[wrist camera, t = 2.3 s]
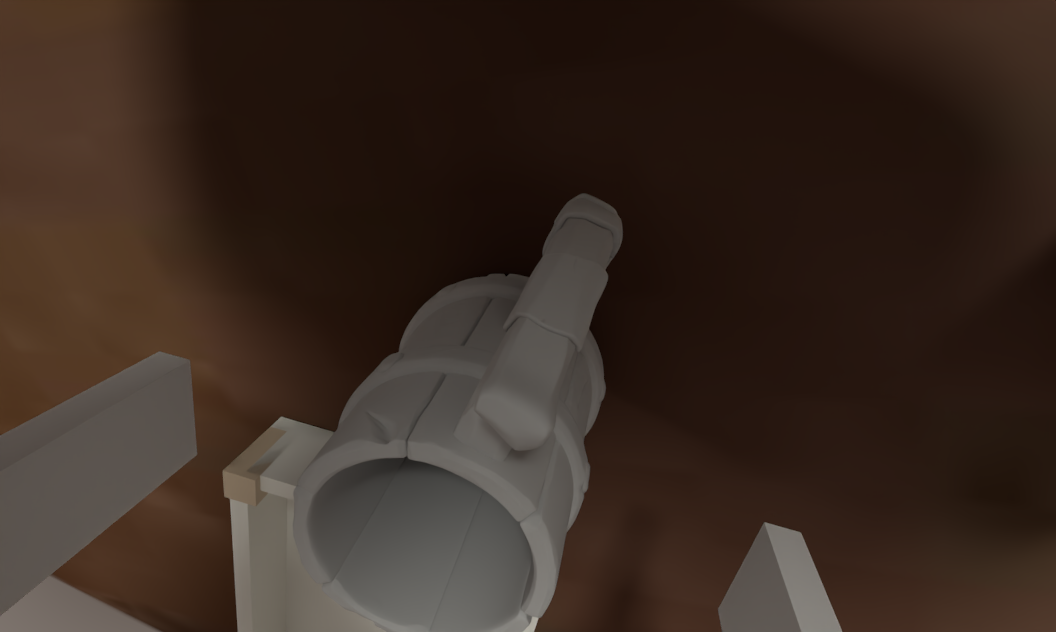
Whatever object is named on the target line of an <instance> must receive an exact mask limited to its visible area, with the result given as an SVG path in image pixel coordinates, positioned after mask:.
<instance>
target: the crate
mask: <svg viewBox="0 0 1056 632" xmlns="http://www.w3.org/2000/svg"><path fill="white" fill-rule="evenodd" d="M333 434H334V432H332V431H329V430H326V429H322V428H319V427H315V426H312V425H308V424H305V423H301V422H298V421H295V420H291V419H288V418H284V417H280V418H279V419H278V420H277V421H276V422H275V423H274V424H273V425H272V426H271V427H269V428H268V429H267V430H266V431H265V432H264V433H263V434H262V435H261V436H260V437H259V438H258V439H256V440H255V441H254V442H253V443H252V444H251V445H250V446H249V447H248V448H247V449H246V450H245V451H243V452H242V453H241V454H240V455H239V456H238V457H237V458H236V459H235V460H234V461H233V462H232V463H230V464H229V465H228V466H227V467H226V468H225V469H224V470H223V484H224V497H227V498H230V508H231V525H232V542H233V559H234V576H235V593H236V610H237V627H238V632H386V631H385V630H383V629H381V628H379V627H377V626H376V625H375V624H374V622H373V621H371V620H369V619H366V618H364V617H362V616H360V615H359V614H357V613H355V612H352V611H348V610H346V609H344V608H343V607H342V606H340V605H339V604H338V603H337V602H335V601H334V600H333V599H331V598H330V597H329V596H327V595H326V594H325V593H324V592H323V591H322V585H323V584H317V583H316V582H315V581H314V580H313V579H312V578H311V576H310V575H309V574H308V572H307V571H306V569H305V568H304V566H303V564H302V562H301V558H300V554H299V552H298V549H297V546H296V543H295V540H294V537H293V520H294V496H293V492H294V489H295V487H296V486H297V484H298V481H299V479H300V477H301V475H302V474H303V472H304V471H305V469H306V468H307V467H308V465H309V464H310V463H311V461H312V460H313V459H314V458H315V456H316V455H317V454H318V453H319V451H320V450H321V449H322V448H323V446H324V445H325V444H326V442H327V441H328V440H329V439H330V437H331V436H332V435H333ZM537 621H538V618H537V617H533V616H532V620H531V623H530V625H529V626H528V627H527V628H526V629H525V630H524V631H523V632H534V630H535V627H536V624H537Z"/></svg>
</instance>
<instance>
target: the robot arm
mask: <svg viewBox="0 0 1056 632" xmlns="http://www.w3.org/2000/svg"><path fill="white" fill-rule="evenodd" d="M196 455H197V447H196V434H195V420H194V407H193V394H192V381H191V367H190V360H188V359H184V358H181V357H177V356H174V355H170V354H167V353H163V352H160V351H159V352H157V353H156V354H154V355H152V356H150V357H148V358H146V359H144V360H142V361H140V362H139V363H137V364H135V365H133V366H131V367H129V368H127V369H125V370H124V371H122V372H120V373H118V374H116V375H114V376H112V377H110V378H108V379H107V380H105V381H103V382H101V383H99V384H97V385H95V386H93V387H91V388H90V389H88V390H86V391H84V392H82V393H80V394H78V395H76V396H74V397H73V398H71V399H69V400H67V401H65V402H63V403H61V404H59V405H57V406H56V407H54V408H52V409H50V410H48V411H46V412H44V413H42V414H40V415H39V416H37V417H35V418H33V419H31V420H29V421H27V422H25V423H23V424H22V425H20V426H18V427H16V428H14V429H12V430H10V431H8V432H7V433H5V434H3V435H1V436H0V616H1V615H2V614H3V613H4V612H6V611H7V610H8V609H9V608H10V607H12V606H13V605H14V604H15V603H17V602H18V601H19V600H20V599H21V598H23V597H24V596H25V595H26V594H27V593H29V592H30V591H31V590H32V589H34V588H35V587H36V586H37V585H38V584H40V583H41V582H42V581H43V580H45V579H46V578H47V577H48V576H49V575H51V574H52V573H53V572H54V571H56V570H57V569H58V568H59V567H60V566H62V565H63V564H64V563H65V562H67V561H68V560H69V559H70V558H71V557H73V556H74V555H75V554H76V553H78V552H79V551H80V550H81V549H82V548H84V547H85V546H86V545H87V544H89V543H90V542H91V541H92V540H93V539H95V538H96V537H97V536H98V535H100V534H101V533H102V532H103V531H104V530H106V529H107V528H108V527H109V526H111V525H112V524H113V523H114V522H115V521H117V520H118V519H119V518H120V517H122V516H123V515H124V514H125V513H126V512H128V511H129V510H130V509H131V508H133V507H134V506H135V505H136V504H137V503H139V502H140V501H141V500H142V499H143V498H145V497H146V496H147V495H148V494H150V493H151V492H152V491H153V490H154V489H156V488H157V487H158V486H159V485H161V484H162V483H163V482H164V481H165V480H167V479H168V478H169V477H170V476H172V475H173V474H174V473H175V472H176V471H178V470H179V469H180V468H181V467H183V466H184V465H185V464H186V463H187V462H189V461H190V460H191V459H192V458H194V457H195V456H196ZM718 612H719V618H720V623H721V628H722V632H842V630H841V627H840V625H839V622H838V620H837V618H836V615H835V613H834V610H833V608H832V606H831V603H830V601H829V598H828V596H827V594H826V591H825V589H824V587H823V584H822V582H821V579H820V577H819V575H818V572H817V570H816V567H815V565H814V563H813V560H812V558H811V555H810V553H809V551H808V548H807V546H806V543H805V541H804V539H803V536H802V534H801V532H797V531H794V530H790V529H787V528H783V527H780V526H776V525H773V524H769V523H766V522H764V523H763V525H762V527H761V529H760V531H759V533H758V535H757V537H756V538H755V540H754V542H753V544H752V546H751V548H750V550H749V552H748V554H747V555H746V557H745V559H744V561H743V563H742V565H741V567H740V569H739V571H738V572H737V574H736V576H735V578H734V580H733V582H732V584H731V586H730V588H729V589H728V591H727V593H726V595H725V597H724V599H723V601H722V603H721V605H720V606H719V608H718Z"/></svg>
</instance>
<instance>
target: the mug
mask: <svg viewBox="0 0 1056 632" xmlns="http://www.w3.org/2000/svg"><path fill="white" fill-rule="evenodd" d="M622 238H623V228H622V221H621V218H620V217H619V216H618V215H617V212H616V210H615V209H614V208H613V207H612V206H610V205H609V204H607V203H605V202H604V201H602V200H600V199H598V198H596V197H594V196H591V195H589V194H585V193H583V194H580V195H578V196H576V197H574V198H573V199H571V200H570V201H568V202H567V203H566V205H565V206H564V207H563V209H562V210H561V211H560V213H559V214H558V216H557V217H556V219H555V221H554V226H553V228H552V230H551V232H550V233H549V235H548V237H547V239H546V241H545V244H544V247H543V251H542V255H543V257H542V259H541V260H540V261H539V263H538V264H537V266H536V267H535V269H534V271H533V272H532V274H531V276H530V278H529V277H526V276H521V275H516V274H509V275H508V276H505V274H489V275H488V276H486V277H475V278H471V279H467V280H463V281H460V282H457V283H455V284H452V285H449V286H446V287H444V288H443V289H442V290H440V291H439V292H438V293H437V294H435V295H434V296H433V297H432V298H430V299H429V300H428V301H427V302H426V303H425V304H424V305H423V306H422V307H421V308H420V309H419V310H418V312H417V313H416V314H415V315H414V317H413V318H412V320H411V321H410V323H409V324H408V326H407V328H406V330H405V332H404V334H403V337H402V339H401V342H400V347H399V352H398V353H394V354H391V355H389V356H388V357H386V358H385V359H384V360H383V361H382V362H381V363H380V365H379V366H378V367H377V368H376V369H375V370H374V371H373V372H372V373H371V374H370V375H369V376H368V377H367V378H366V379H365V380H364V381H363V382H362V384H361V385H360V386H359V387H358V388H357V389H356V390H355V392H354V393H353V394H352V396H351V397H350V399H349V400H348V402H347V404H346V406H345V408H344V410H343V412H342V415H341V417H340V420H339V425H338V429H337V430H336V431H335V432H334V434H333V435H332V436H331V437H330V439H329V440H328V441H327V442H326V444H325V445H324V446H323V448H322V449H321V450H320V451H319V453H318V454H317V455H316V456H315V458H314V459H313V460H312V461H311V463H310V464H309V465H308V467H307V468H306V469H305V471H304V472H303V474H302V475H301V477H300V479H299V481H298V484H297V486H296V487H295V489H294V492H293V496H294V520H293V537H294V540H295V543H296V546H297V549H298V552H299V554H300V558H301V562H302V564H303V566H304V568H305V569H306V571H307V572H308V574H309V575H310V576H311V578H312V579H313V580H314V581H315V582H316V583H317V584H323V585H322V591H323V592H324V593H325V594H326V595H327V596H329V597H330V598H331V599H333V600H334V601H335V602H337V603H338V604H339V605H340V606H342V607H343V608H344V609H346V610H348V611H352V612H355V613H357V614H359V615H360V616H362V617H364V618H366V619H369V620H371V621H373V622H374V624H375V625H376V626H377V627H379V628H381V629H383V630H385V631H386V632H523V631H524V630H525V629H526V628H527V627H528V626H529V625H530V623H531V620H532V616H533V617H537V618H540V617H542V616H543V614H544V612H545V611H546V609H547V608H548V606H549V604H550V602H551V599H552V597H553V595H554V592H555V588H556V584H557V580H558V575H559V569H560V564H561V559H562V554H563V548H564V543H565V538H566V533H567V531H568V530H569V529H570V527H571V526H572V524H573V523H574V521H575V519H576V517H577V515H578V513H579V510H580V507H581V505H582V502H583V499H584V492H586V491H587V489H588V481H589V475H590V464H589V463H588V460H587V455H586V452H585V447H584V438H585V436H586V435H587V433H588V432H589V431H590V429H591V427H592V426H593V424H594V422H595V420H596V417H597V415H598V412H599V409H600V406H601V401H602V400H603V399H604V396H605V391H606V385H605V381H604V369H603V362H602V357H601V354H600V351H599V348H598V345H597V343H596V341H595V339H594V337H593V335H592V333H591V331H590V330H589V326H590V323H591V320H592V317H593V313H594V310H595V307H596V305H597V303H598V301H599V299H600V297H601V295H602V293H603V291H604V289H605V286H606V284H607V281H608V274H607V272H606V271H605V270H606V268H607V266H608V265H609V263H610V262H611V260H612V259H613V258H614V256H615V255H616V254H617V252H618V250H619V248H620V245H621V243H622Z"/></svg>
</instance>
